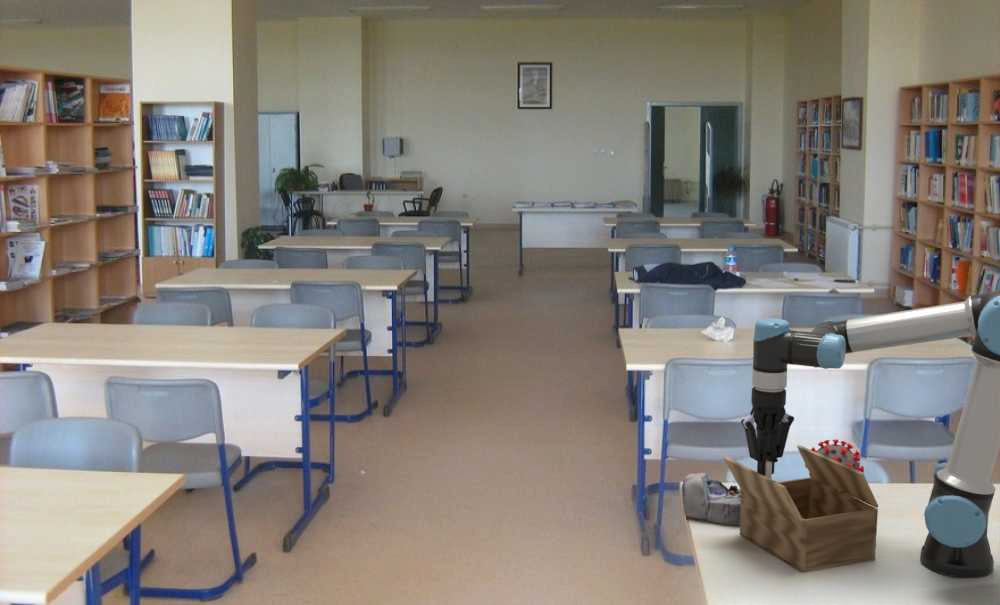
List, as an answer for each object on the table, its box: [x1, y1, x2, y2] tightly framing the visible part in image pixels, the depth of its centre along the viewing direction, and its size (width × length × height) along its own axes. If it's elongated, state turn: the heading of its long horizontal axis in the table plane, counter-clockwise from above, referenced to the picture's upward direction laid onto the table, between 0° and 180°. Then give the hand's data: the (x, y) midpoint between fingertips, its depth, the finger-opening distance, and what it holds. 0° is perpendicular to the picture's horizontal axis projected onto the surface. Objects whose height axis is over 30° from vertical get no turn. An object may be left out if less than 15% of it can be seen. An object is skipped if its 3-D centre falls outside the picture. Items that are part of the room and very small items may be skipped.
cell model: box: [681, 472, 741, 526], centre depth 274 cm, size 13×11×20 cm
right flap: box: [796, 444, 879, 509], centre depth 256 cm, size 23×10×1 cm
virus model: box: [804, 438, 865, 493], centre depth 291 cm, size 14×15×15 cm
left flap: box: [722, 455, 803, 521], centre depth 249 cm, size 23×10×1 cm
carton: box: [739, 476, 879, 574], centre depth 255 cm, size 24×20×12 cm
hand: (764, 488), depth 250 cm, fingers closed
